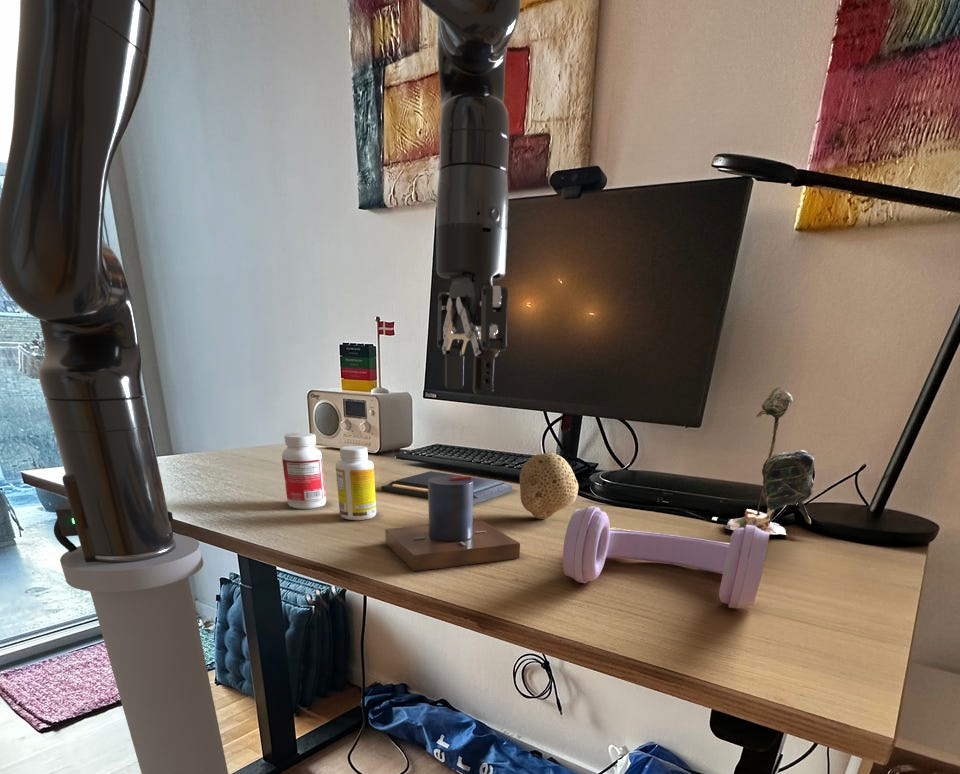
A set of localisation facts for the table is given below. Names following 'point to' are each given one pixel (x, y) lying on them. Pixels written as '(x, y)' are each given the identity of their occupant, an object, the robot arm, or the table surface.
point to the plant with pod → (780, 475)
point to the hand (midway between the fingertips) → (467, 391)
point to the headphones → (666, 553)
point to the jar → (450, 508)
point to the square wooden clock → (450, 547)
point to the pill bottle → (303, 472)
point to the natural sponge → (547, 485)
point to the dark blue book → (419, 483)
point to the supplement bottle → (355, 484)
